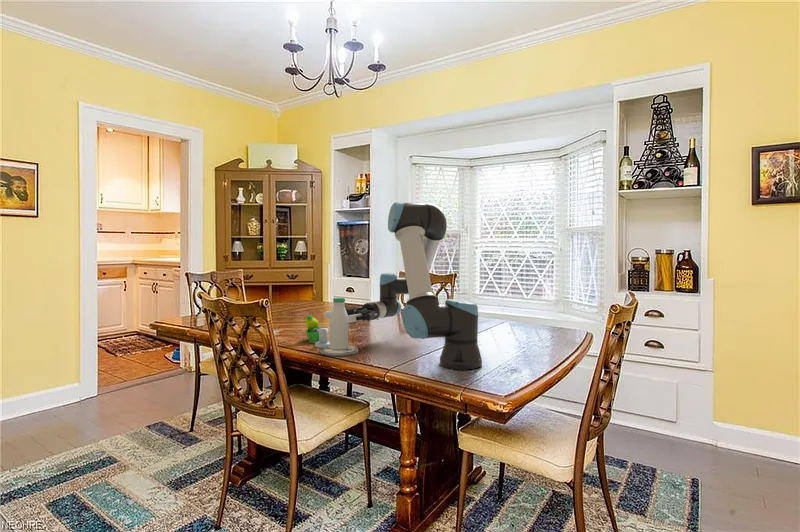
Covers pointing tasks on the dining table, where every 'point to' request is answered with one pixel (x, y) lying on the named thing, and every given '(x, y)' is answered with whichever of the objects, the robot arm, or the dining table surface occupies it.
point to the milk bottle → (339, 326)
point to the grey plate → (338, 351)
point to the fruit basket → (312, 329)
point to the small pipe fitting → (322, 338)
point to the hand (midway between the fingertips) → (337, 317)
